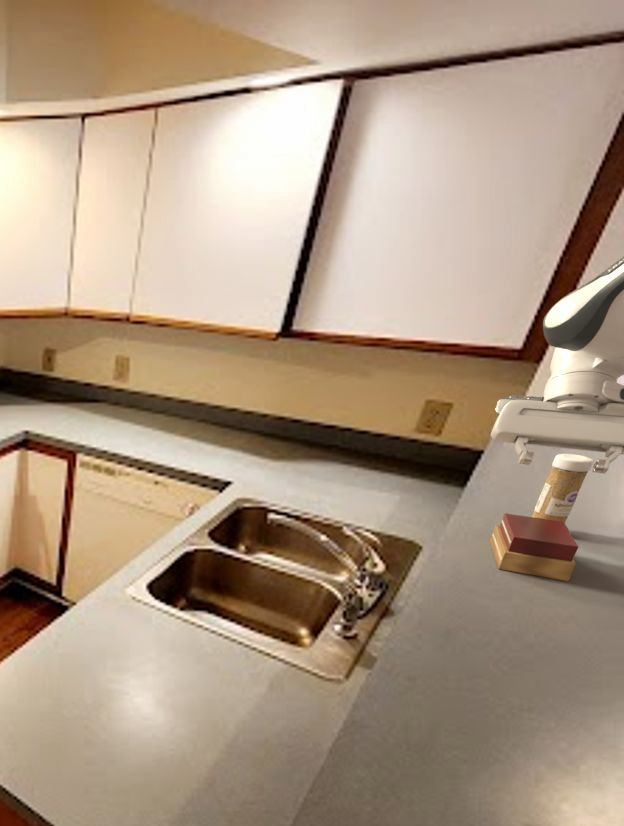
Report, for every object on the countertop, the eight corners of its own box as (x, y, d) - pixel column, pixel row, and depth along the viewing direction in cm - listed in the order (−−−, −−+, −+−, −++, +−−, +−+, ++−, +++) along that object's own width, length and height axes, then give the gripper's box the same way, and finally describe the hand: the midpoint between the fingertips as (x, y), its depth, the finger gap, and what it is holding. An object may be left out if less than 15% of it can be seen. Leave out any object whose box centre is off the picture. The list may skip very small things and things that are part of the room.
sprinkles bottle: (553, 536, 107) (585, 462, 102) (520, 527, 111) (550, 455, 105) (567, 531, 109) (600, 458, 103) (535, 522, 113) (565, 451, 107)
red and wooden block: (553, 550, 103) (566, 520, 100) (568, 581, 94) (583, 548, 92) (489, 540, 107) (500, 511, 105) (497, 568, 98) (510, 537, 96)
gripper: (504, 384, 114) (487, 449, 112) (669, 395, 103) (655, 467, 100) (494, 403, 120) (478, 466, 117) (650, 415, 108) (637, 485, 105)
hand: (561, 467), depth 108 cm, fingers open, 8 cm apart
